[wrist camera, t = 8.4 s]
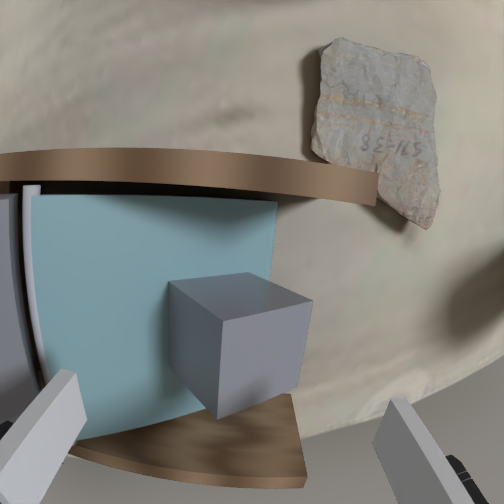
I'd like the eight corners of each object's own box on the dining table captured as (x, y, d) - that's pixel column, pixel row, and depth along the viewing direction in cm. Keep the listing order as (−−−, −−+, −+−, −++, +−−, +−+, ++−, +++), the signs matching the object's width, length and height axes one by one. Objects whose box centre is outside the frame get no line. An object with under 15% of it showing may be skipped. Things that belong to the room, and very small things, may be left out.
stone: (421, 225, 24) (437, 230, 22) (304, 217, 24) (311, 221, 21) (423, 63, 21) (438, 55, 18) (310, 38, 20) (317, 24, 18)
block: (168, 365, 19) (216, 419, 15) (168, 280, 18) (223, 321, 14) (241, 347, 23) (297, 386, 19) (248, 271, 22) (313, 300, 17)
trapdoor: (-13, 427, 14) (-11, 475, 10) (-65, 189, 10) (-96, 195, 6) (234, 378, 28) (268, 407, 24) (252, 191, 24) (299, 197, 21)
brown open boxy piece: (42, 366, 26) (-8, 419, 16) (27, 162, 22) (-53, 161, 12) (288, 406, 27) (302, 487, 17) (324, 176, 23) (378, 173, 13)
